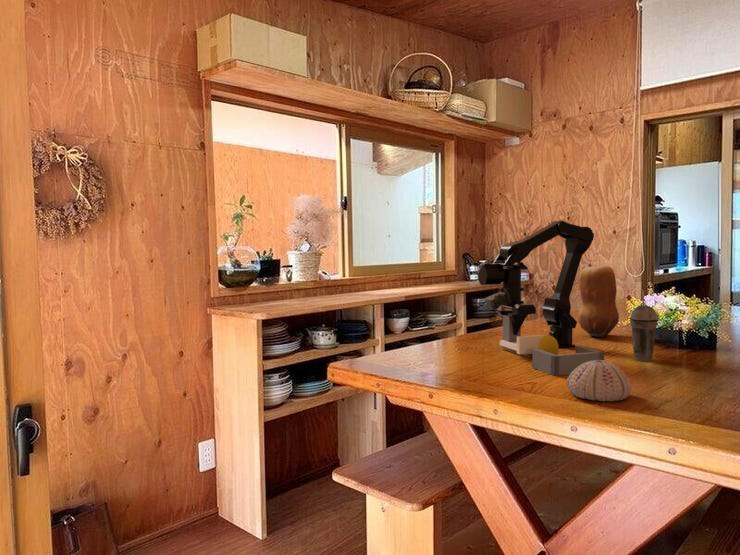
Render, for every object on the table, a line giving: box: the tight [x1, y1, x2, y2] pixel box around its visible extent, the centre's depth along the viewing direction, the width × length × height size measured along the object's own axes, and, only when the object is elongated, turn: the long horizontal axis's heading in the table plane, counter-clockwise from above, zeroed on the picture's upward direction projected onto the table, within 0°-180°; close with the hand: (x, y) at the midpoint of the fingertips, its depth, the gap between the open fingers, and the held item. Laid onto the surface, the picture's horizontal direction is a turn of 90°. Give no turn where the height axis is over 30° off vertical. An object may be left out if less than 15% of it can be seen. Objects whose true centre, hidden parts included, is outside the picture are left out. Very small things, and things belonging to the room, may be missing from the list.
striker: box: [499, 315, 548, 355], centre depth 175 cm, size 10×15×10 cm, turn 16°
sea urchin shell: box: [566, 359, 633, 402], centre depth 127 cm, size 13×14×8 cm
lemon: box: [538, 333, 560, 355], centre depth 161 cm, size 6×6×8 cm
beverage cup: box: [629, 289, 659, 362], centre depth 162 cm, size 7×7×20 cm
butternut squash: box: [577, 265, 620, 338], centre depth 200 cm, size 14×13×25 cm
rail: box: [500, 345, 533, 359], centre depth 176 cm, size 4×16×1 cm, turn 16°
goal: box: [532, 345, 605, 377], centre depth 153 cm, size 15×10×5 cm, turn 106°
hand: (511, 333), depth 180 cm, fingers closed on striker, 4 cm apart
